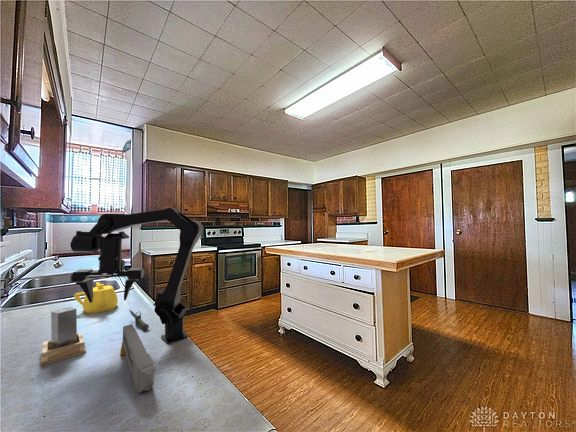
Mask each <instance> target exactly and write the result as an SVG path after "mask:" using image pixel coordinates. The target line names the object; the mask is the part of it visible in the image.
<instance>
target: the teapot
mask: <svg viewBox="0 0 576 432" xmlns="http://www.w3.org/2000/svg"><path fill="white" fill-rule="evenodd" d="M83 295H84V299H83V300H82V299H81V296H83ZM73 297H74V299H75V300H76V301H77V303H79V304H80V305H81V306H82V309H83V311H84V312H85V313H87V314H89V315H90V314H96V313H101V312H102V313H103V312H107V311H111V310H114V309H115V308H116V307H117V304H118V302H119V300H118V295H117V293H116V289H114V287H113V286H112V285H105V284H104V283H100V282H99V281H97V282H95V287H94V286H93V302H92V303H90V302H89V300H88V298H87V296H86V294H85V292H84V291H82V292H77V293H74V295H73Z"/></svg>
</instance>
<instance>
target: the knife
mask: <svg viewBox="0 0 576 432" xmlns="http://www.w3.org/2000/svg"><path fill="white" fill-rule="evenodd" d="M128 310H129V313H130V314H131V315H132V317H133V318H134V320H135V321H134V323H135V325H136V326H138V325H140V327H141V328H142V330H143V331H147V330H148V329H149V328H150V326H149V324H147V323H146V322H144V320H142V313H141V311H137V312H134V311H133V310H131V309H128ZM138 313H139V315H137V314H138Z"/></svg>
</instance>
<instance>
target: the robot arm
mask: <svg viewBox="0 0 576 432" xmlns="http://www.w3.org/2000/svg"><path fill="white" fill-rule="evenodd" d="M164 221H166V222H167V221H169V222H170V223H171V224H172V225H173V226H174V227H175V228H176V229H178V230H179V231H180V232H179V248H178V250H177V252H176V253H177V254H176V256H175V260H174V263H173V266H172V269H171V272H170V275H169V279H168V282H167V284H166V287H164V288H163V289H161V290H160V291H158V292H157V294H156V298H155V302H154V303H153V304H152V306H154V313H155V314H156V316H157V317H158V318H159V320H160V322H161V324H162V325H164V334H162V335H161V336H160V337H161V339H162V340H163V341H164V342H165V343H166V344H171V343H175V342H177V341H180V340H183V339H187V338H188V334H187V333H185V330H184V329H185V327H184V326H185V324H184V323H185V322H184V315H185V314H186V312H187V306H185V305H184V304H183V303H182V302H181V297H182V296H181V295H182V293H181V287H182V284H183V281H184V279H185V278H184V277H185V274H186V271H187V268H188V265H189V262H190V259H191V255H192V253H193V250H194V247H195V245H197V243H198V241H199V240H200V238H201V237H202V234H203V232H204V226H203V223H202V222H200V221H198V220H194V219H191V218H190V217H188V216H187V215H185V214H183V213H181V212H180V211H178V209H176V208H174V207H167V208H164V209H163V208H162V209H158V210H151V211H149V210H148V211H141V212H135V213H103V214H101V215H100V216H99V217H98V220H97V223H95V225H94V226H92V228H91V229H90V230H89V231H87V230H76V232H75V235H74V236H73V237H72V239H71V241H70V248H71V251H73V252H74V253H97V252H98V251H99V256H98V261H99V262H98V263H99V264H98V270H97V271H94V269H92V268H91V269H90V268H87V269H78V270H76V271H74V272H72V273H71V275H70V278H69V279H70V281H69V282H71V283H74V282H75V285H76V286H77V285H78V286H79V287H80V288H81V289H82V290H83V291H82V292H85V294H84V295H86V296H87V298H88V300H89V302H90V303H92V302H93V288H94V286H93V285H94V280H95V279H96V278H122V277H125V278H127V279H126V280H125V283H124V292H123V300H124V301H126V300H127V298H128V296H129V294H130V290H131V288H132V286H133V285H134V283H136V282H137V281H139V280H140V279H142V278H144V276H145V269H144V268H143V267H131V268H128V270H125V267H126V266H125V265H126V260H124V259H123V254H122V246H123V245H122V244H123V243H122V242H123V240H126V239H129V238H130V235H128V234H126V232H125V231H123V230H125V229H126V230H127V229H129V228H131V227H133V226H138V225H144V224H150V223H157V222H164ZM113 232H118V233H113ZM105 235H106V236H105Z"/></svg>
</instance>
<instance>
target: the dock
mask: <svg viewBox="0 0 576 432" xmlns="http://www.w3.org/2000/svg"><path fill="white" fill-rule="evenodd" d="M83 335H84V334H83V332H80V333H78V332H77V343H74V344H70V345H67V346H63V347H59V348H55V349H52V344H51V340H47V341H44V342H42V350H41V356H40V357H41V359H40V366H45V365H49V364H51V363H54V362H58V361H62V360H65V359H68V358H72V357H75V356H79V355H82V354H86V353H87V349H86V346H85V339H84V336H83Z"/></svg>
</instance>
